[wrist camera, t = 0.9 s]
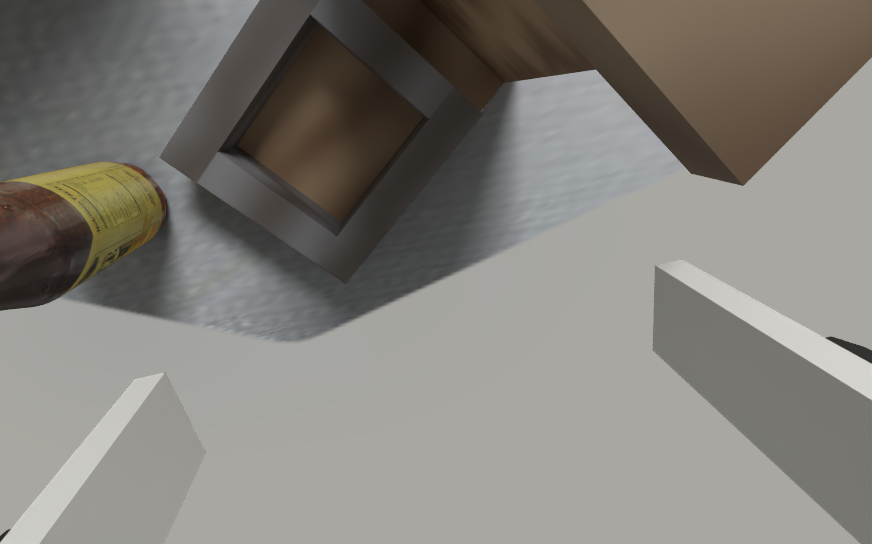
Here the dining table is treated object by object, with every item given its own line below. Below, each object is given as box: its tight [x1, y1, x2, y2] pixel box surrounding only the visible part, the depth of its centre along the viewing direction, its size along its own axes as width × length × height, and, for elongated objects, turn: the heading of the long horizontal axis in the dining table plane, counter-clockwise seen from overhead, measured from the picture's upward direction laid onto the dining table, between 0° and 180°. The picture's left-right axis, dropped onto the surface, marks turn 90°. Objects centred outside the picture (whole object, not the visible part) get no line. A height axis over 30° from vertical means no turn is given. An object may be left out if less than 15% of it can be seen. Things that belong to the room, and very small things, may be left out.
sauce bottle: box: [0, 162, 166, 311], centre depth 24 cm, size 6×6×20 cm
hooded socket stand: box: [159, 0, 872, 284], centre depth 20 cm, size 15×20×28 cm
